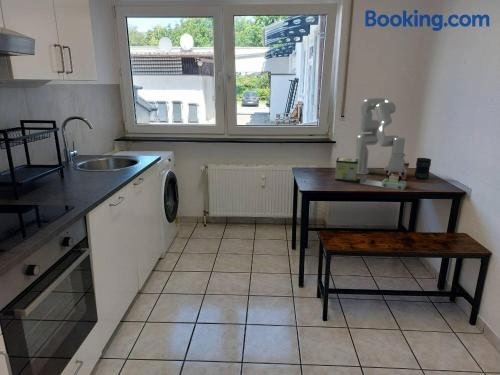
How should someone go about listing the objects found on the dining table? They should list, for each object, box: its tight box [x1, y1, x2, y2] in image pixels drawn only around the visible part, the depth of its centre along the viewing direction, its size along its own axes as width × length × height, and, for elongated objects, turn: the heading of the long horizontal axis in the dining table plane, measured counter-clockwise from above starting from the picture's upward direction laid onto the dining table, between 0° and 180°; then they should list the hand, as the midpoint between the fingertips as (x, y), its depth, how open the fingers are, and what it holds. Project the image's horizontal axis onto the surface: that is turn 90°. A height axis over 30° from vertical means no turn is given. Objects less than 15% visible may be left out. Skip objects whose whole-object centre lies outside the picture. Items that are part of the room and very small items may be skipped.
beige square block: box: [389, 173, 400, 183], centre depth 237 cm, size 6×6×4 cm
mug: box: [391, 160, 411, 181], centre depth 255 cm, size 13×9×14 cm
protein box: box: [334, 157, 358, 183], centre depth 254 cm, size 10×16×16 cm
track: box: [359, 174, 407, 191], centre depth 242 cm, size 30×12×4 cm, turn 56°
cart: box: [381, 178, 407, 190], centre depth 238 cm, size 14×12×3 cm
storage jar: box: [414, 157, 432, 181], centre depth 257 cm, size 10×10×15 cm
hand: (394, 180), depth 238 cm, fingers closed on beige square block, 6 cm apart
